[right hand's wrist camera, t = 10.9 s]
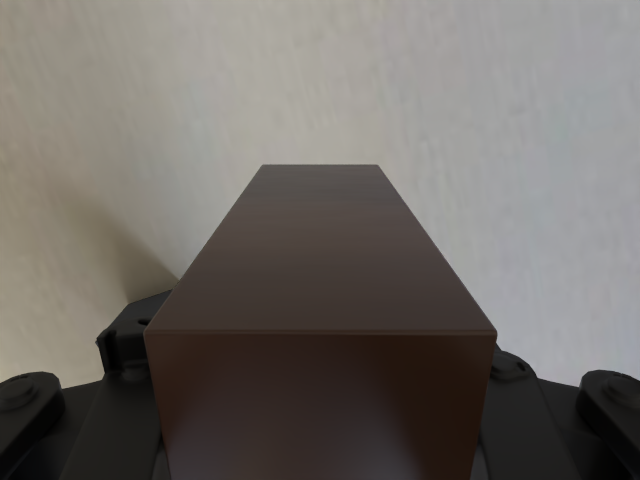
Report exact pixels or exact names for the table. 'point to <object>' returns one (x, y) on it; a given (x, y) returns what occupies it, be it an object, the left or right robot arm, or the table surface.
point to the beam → (320, 340)
